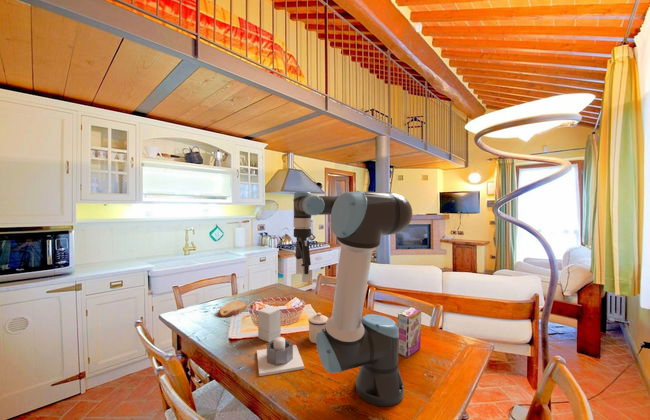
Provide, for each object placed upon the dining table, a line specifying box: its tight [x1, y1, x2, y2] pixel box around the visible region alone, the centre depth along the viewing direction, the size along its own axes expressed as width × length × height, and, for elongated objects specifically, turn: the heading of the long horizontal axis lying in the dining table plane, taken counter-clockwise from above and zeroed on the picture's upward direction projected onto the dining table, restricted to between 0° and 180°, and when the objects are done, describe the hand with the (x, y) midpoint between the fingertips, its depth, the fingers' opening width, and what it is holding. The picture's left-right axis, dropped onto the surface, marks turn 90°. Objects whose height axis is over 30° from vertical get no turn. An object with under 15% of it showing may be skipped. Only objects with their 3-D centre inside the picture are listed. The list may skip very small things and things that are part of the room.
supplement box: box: [257, 305, 282, 343], centre depth 124 cm, size 7×7×13 cm
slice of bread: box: [217, 300, 247, 319], centre depth 157 cm, size 18×18×4 cm
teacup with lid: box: [308, 312, 329, 344], centre depth 124 cm, size 12×9×12 cm
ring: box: [265, 338, 294, 366], centre depth 106 cm, size 10×10×5 cm
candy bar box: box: [397, 306, 422, 359], centre depth 113 cm, size 11×5×16 cm, turn 134°
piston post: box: [256, 336, 305, 377], centre depth 106 cm, size 16×16×8 cm
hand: (302, 277), depth 118 cm, fingers open, 13 cm apart
